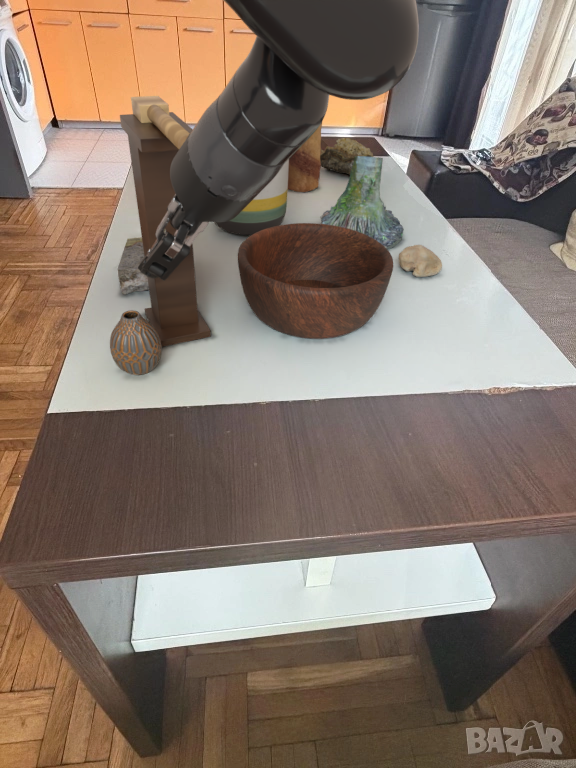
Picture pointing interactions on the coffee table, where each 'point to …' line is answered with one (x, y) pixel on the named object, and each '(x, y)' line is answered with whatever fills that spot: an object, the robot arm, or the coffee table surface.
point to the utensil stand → (154, 193)
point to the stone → (420, 261)
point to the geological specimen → (132, 267)
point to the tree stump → (365, 205)
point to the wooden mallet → (159, 117)
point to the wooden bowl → (313, 278)
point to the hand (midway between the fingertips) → (161, 242)
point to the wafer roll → (306, 165)
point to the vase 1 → (135, 344)
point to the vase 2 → (262, 208)
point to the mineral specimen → (343, 155)
